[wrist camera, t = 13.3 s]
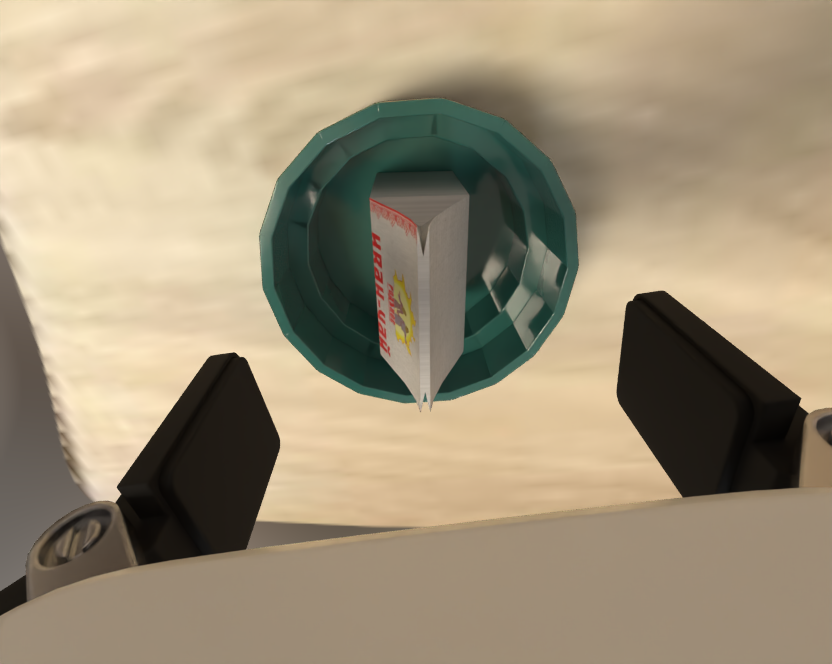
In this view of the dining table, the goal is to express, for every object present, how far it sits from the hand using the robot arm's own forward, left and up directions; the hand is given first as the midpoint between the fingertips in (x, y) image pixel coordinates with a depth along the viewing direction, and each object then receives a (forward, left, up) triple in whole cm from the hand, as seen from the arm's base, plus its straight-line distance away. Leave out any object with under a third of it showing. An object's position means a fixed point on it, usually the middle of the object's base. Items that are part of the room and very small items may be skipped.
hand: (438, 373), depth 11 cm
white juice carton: (+1, 0, -14) cm, 13 cm away
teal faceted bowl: (+1, 0, -14) cm, 14 cm away
